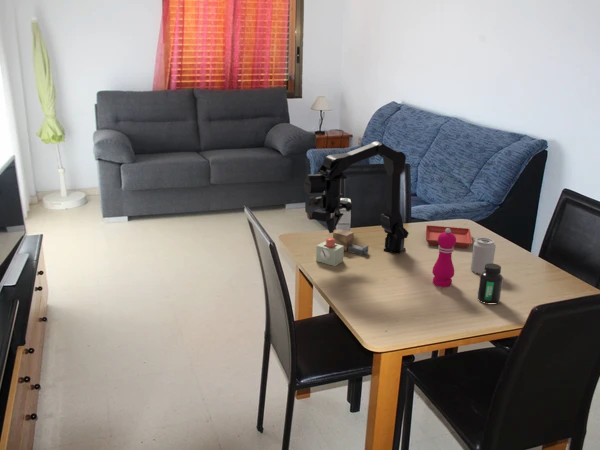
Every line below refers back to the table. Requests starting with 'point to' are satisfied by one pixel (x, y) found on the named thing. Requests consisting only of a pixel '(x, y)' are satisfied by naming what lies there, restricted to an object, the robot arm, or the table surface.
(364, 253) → the rail
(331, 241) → the gauge button
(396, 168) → the robot arm
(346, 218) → the syrup box
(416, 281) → the table surface
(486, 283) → the supplement bottle
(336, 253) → the cabinet
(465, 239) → the plant saucer
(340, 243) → the block
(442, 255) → the pepper mill
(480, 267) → the can
